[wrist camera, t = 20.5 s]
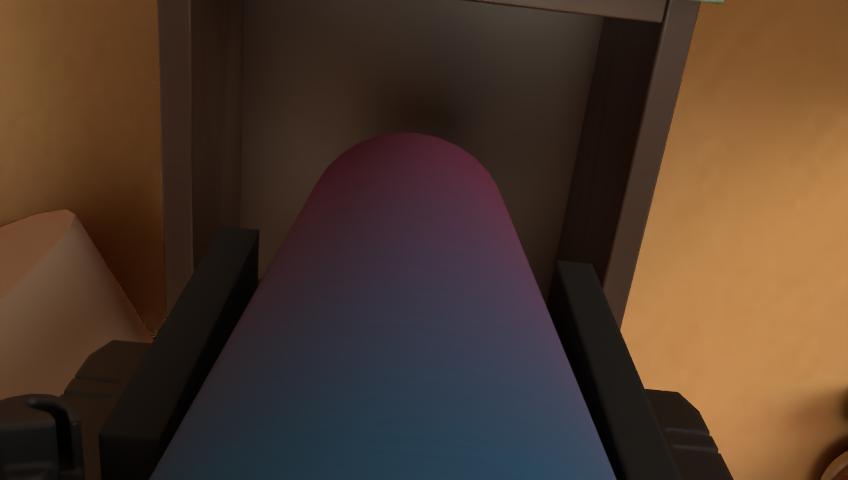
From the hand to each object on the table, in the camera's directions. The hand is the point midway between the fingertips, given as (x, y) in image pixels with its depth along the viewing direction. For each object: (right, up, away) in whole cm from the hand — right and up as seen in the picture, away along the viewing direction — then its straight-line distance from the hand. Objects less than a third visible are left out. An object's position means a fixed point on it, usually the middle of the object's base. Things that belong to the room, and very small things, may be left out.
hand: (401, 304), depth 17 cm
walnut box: (0, +5, +10) cm, 12 cm away
